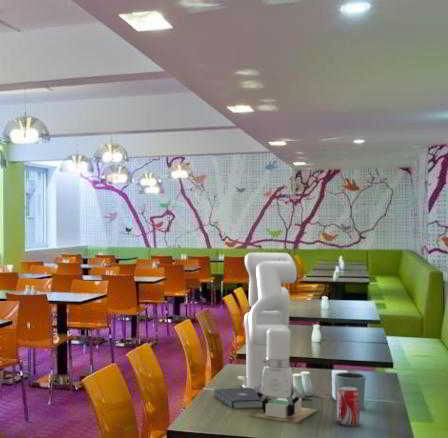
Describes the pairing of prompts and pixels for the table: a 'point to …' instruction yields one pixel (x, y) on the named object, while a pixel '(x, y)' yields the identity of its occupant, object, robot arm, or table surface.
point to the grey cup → (353, 384)
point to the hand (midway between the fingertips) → (278, 413)
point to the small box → (335, 382)
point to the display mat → (293, 418)
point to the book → (239, 397)
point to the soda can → (348, 406)
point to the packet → (281, 407)
